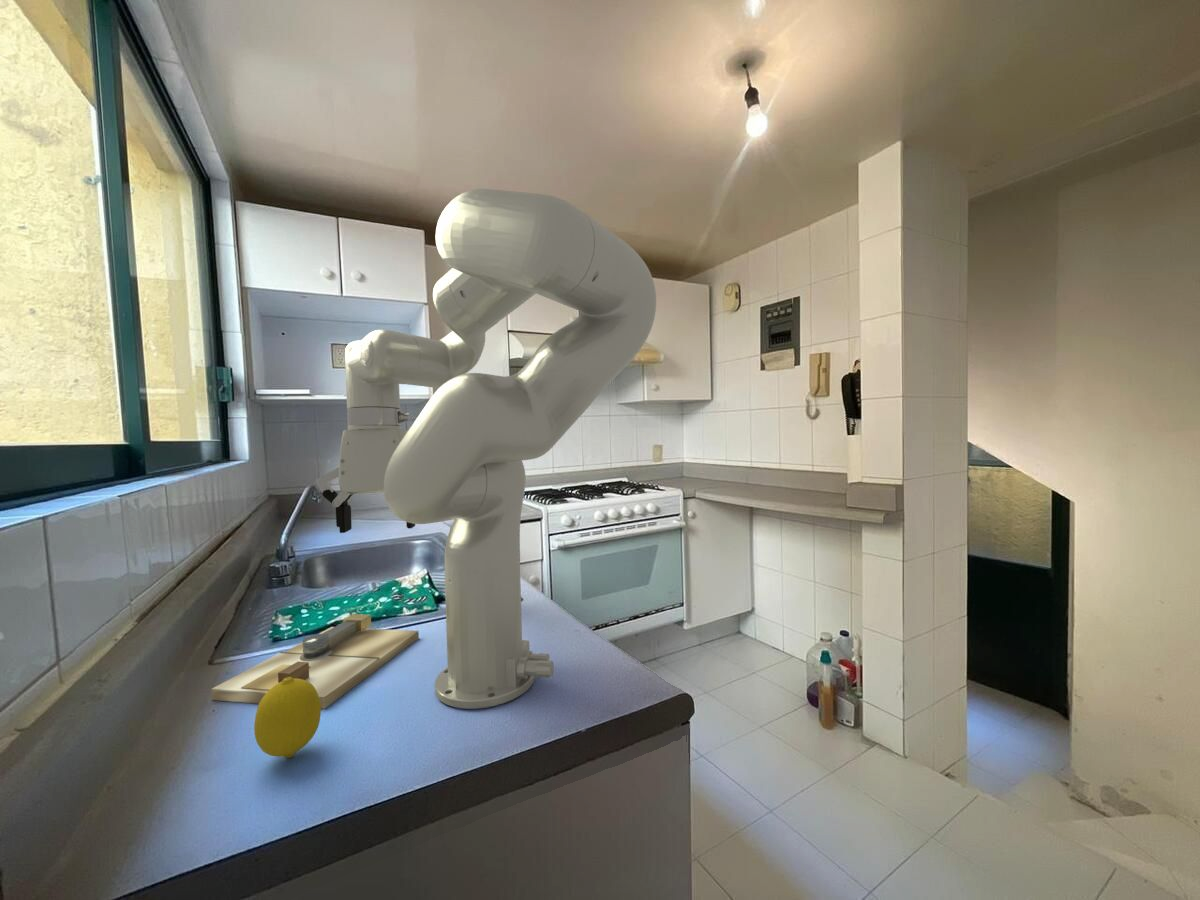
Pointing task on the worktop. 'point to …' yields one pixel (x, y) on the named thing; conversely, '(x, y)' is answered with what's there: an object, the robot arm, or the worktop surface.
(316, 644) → the lock bar
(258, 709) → the lemon
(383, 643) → the board
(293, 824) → the worktop surface
